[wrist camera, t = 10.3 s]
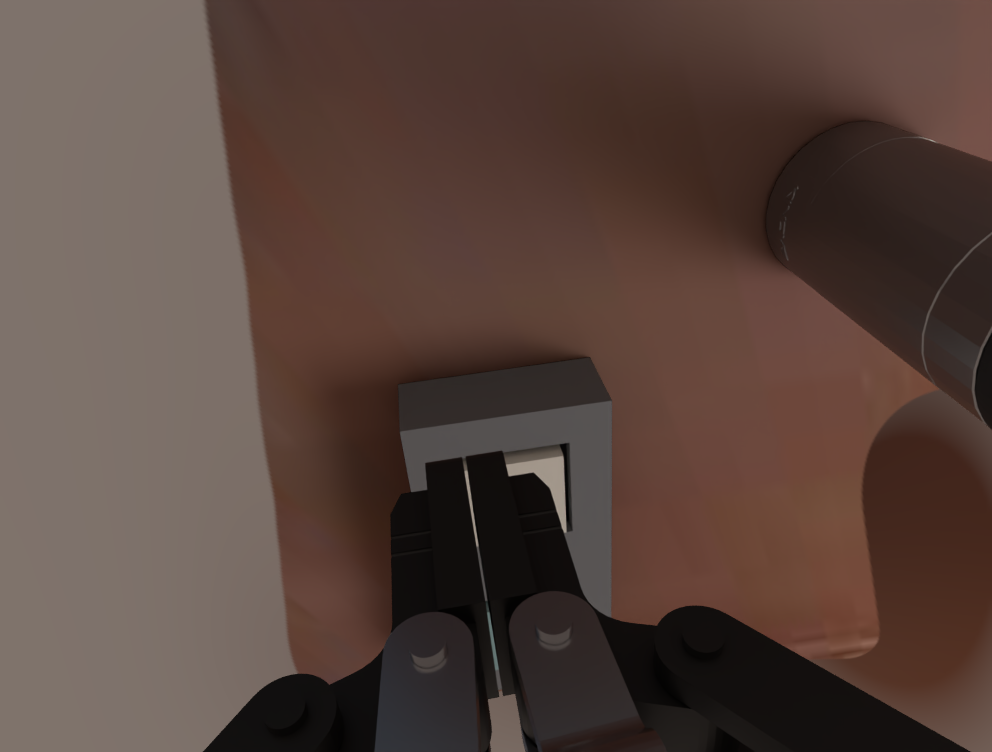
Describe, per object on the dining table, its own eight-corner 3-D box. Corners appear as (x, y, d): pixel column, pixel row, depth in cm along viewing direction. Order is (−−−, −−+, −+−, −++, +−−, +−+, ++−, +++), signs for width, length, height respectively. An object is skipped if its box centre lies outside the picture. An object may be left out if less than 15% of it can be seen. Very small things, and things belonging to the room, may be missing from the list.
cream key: (552, 426, 44) (563, 456, 41) (556, 500, 47) (566, 532, 44) (455, 440, 43) (460, 471, 41) (466, 514, 46) (470, 547, 44)
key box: (589, 357, 45) (611, 400, 40) (593, 616, 57) (610, 669, 53) (398, 384, 44) (399, 431, 39) (444, 641, 56) (449, 698, 52)
